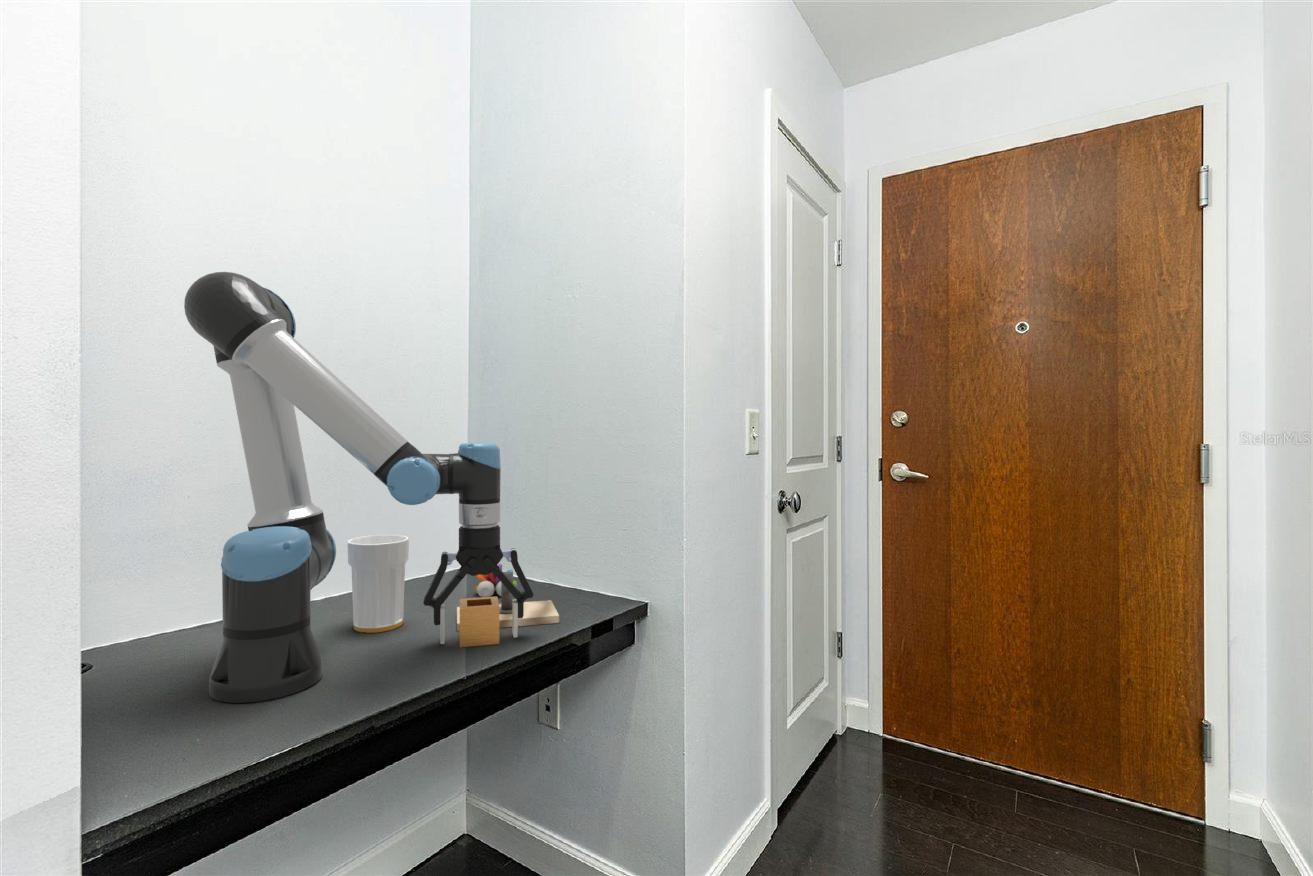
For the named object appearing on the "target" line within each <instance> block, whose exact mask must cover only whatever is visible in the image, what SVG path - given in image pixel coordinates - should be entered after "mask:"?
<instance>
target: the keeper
mask: <svg viewBox="0 0 1313 876" xmlns="http://www.w3.org/2000/svg"><path fill="white" fill-rule="evenodd" d="M503 572H504V574H505V575H506V576H507V577H508V578H509V579H510V581H511V582H512V583H513V580H514V571H513V572H507V571H503ZM500 598H501V599H500V603H499V606H500V609H499V629H501V628H512V607H513V600H514V596H513V595H512V594H511V593H510V591H509V590H508V589H507V588H506V587H505V586H504V584H503V583H502V582H501V596H500ZM559 623H560V614H559V613H558V610H557V609H556V607H555V605H554V603H553V601H552V600H551V599H548V600H534V601H533V600H532V601H524V616H523V618H518V627H525V626H528V627H529V626H537V625H538V626H539V625H551V624H559ZM456 632H460V606H456Z"/></svg>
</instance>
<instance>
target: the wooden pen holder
mask: <svg viewBox="0 0 1313 876" xmlns="http://www.w3.org/2000/svg"><path fill="white" fill-rule="evenodd" d="M499 604H500V603H499V598H498V596H490V597H481V596H480V597H469V598H460V599H459V607H460V631H459V648H468V647H470V648H471V647H478V646H491V645H499V644H500V628H499V609H500V606H499Z"/></svg>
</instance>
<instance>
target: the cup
mask: <svg viewBox="0 0 1313 876" xmlns="http://www.w3.org/2000/svg"><path fill="white" fill-rule="evenodd" d="M409 549H410V538H409V537H408V535H407V536H406V535H404V534H403V535H402V534H374V535H373V534H372V535H364V536H363V535H362V536H358V537H353V538H351V539H348V540H347V562H348V565H349V566H350V567H351V587H352V588H351V589H352V592H351V593H352V616H353V617H352V618H353V619H352V621H353V630H354V631H355V632H358V633H364V632H365V633H366V634H367V633H369V634H371V633H372V634H373V633H382V632H387V631H391V630H392V631H393V630H395V629H397V628H399V627H401V626H402V625H404V608H405V607H404V606H405V605H404V604H405V580H406V579H405V574H406V572H405V571H406V564H407V562H408V560H409Z"/></svg>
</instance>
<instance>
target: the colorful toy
mask: <svg viewBox="0 0 1313 876" xmlns="http://www.w3.org/2000/svg"><path fill="white" fill-rule="evenodd" d="M498 566H499V567H500V569H501V570H502V571H503V565H502V564H501V563H498ZM506 572H513V573H514V569H508V570H507V571H506ZM475 578H476V579H477V580H478V581H479V583H477V584H476V585H475V586H474V590H475V591H476V592H477V594H478V596H479V597H480V598H481V597H493V595H494V594H495V592H496V594H497V595H498V596H500V597H501V581H500V580H499V579H498V578H497V577H496V576H495V574H494V573H493V572H491V573H490V574H488V575H481V574H479V575H476V576H475ZM513 584H514V585H515V586H516V587H517V585H518V583H517V581H516V580H514V579H513Z"/></svg>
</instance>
